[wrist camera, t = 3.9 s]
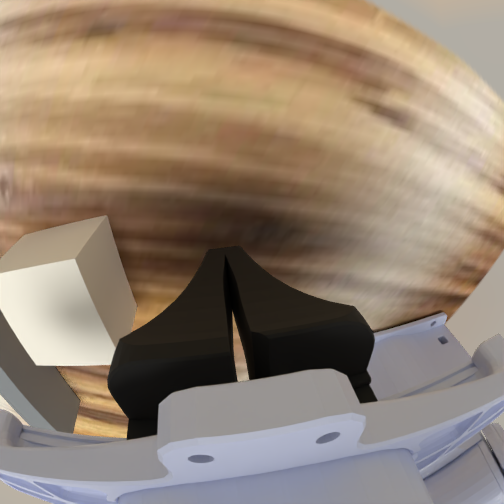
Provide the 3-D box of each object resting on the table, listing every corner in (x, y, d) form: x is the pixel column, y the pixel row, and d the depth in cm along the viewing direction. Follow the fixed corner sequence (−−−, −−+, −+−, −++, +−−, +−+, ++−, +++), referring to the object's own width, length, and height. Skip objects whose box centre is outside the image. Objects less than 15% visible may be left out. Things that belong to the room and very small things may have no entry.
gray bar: (-23, 198, 10) (-70, 231, 6) (80, 400, 17) (70, 444, 14) (-46, 208, 9) (-88, 240, 6) (56, 399, 17) (45, 439, 13)
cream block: (107, 214, 12) (74, 258, 8) (137, 305, 14) (124, 363, 11) (25, 233, 11) (-17, 276, 8) (60, 313, 14) (36, 365, 10)
